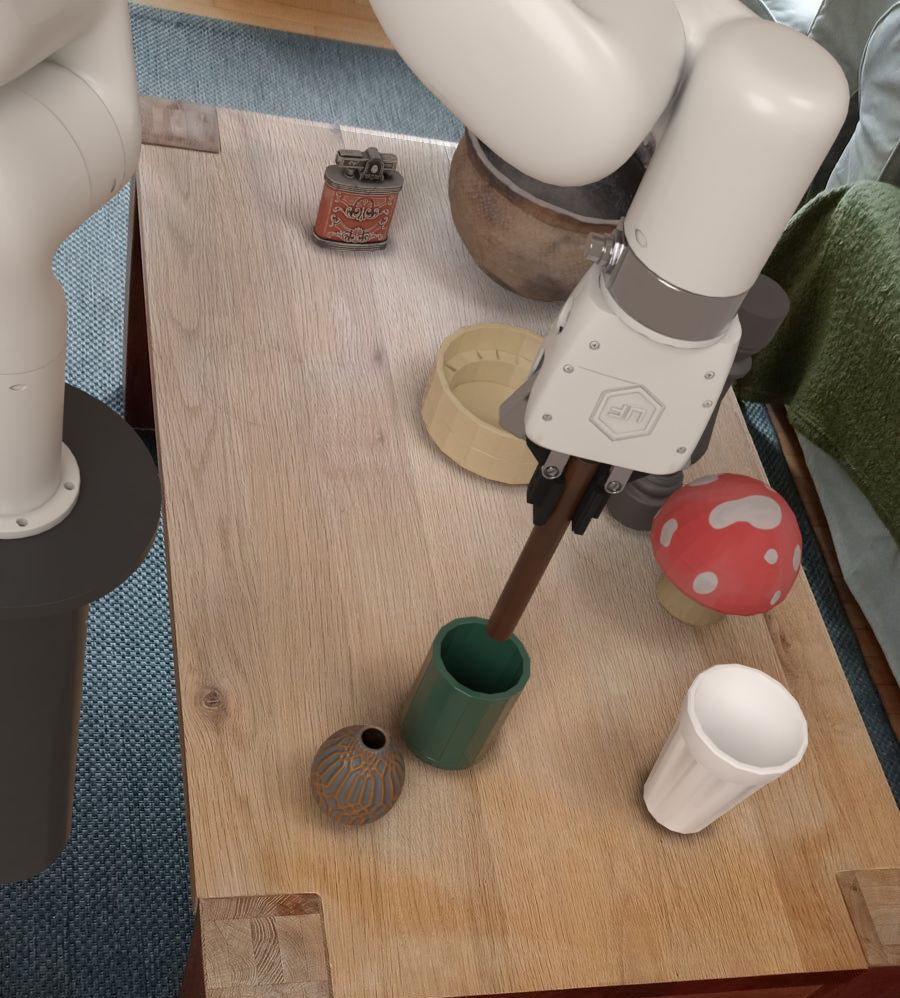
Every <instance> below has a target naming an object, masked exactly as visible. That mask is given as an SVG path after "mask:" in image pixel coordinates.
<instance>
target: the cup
mask: <svg viewBox="0 0 900 998" xmlns="http://www.w3.org/2000/svg"><path fill="white" fill-rule="evenodd" d="M808 729H809V728H808V722H807V720H806V717H805V715H804V713H803V711H802V708H801V706H800V704H799V702H798V701H797V700H796V698H795V697H794V696H793V695H792V694H791V693H790V692H789V690H788V689H787V688H786V687H785V686H784V685H783V684H782V683H781V682H779V681H778V680H776V679H775V678H773V677H771V676H770V675H769V674H767V673H765V672H763V670H760V669H757V668H754V667H750V666H748V665H743V664H741V663H724V664H713V665H711V666H710V667H708V668H706V669H705V670H703V671H701V672H699V673H697V674H696V676H695V678H694V679H693V682H692V683H691V685H690V687H689V688H688V690H687V692H686V693H685V696H684V698H683V700H682V701H681V703H680V710H679V714H678V716H677V718H676V721H675V722H674V724H673V726H672V728H671V730H670V732H669V734H668V736H667V738H666V740H665V742H664V745H663V746H662V748H661V751H660V752H659V755H658V756H657V758H656V760H655V763H654V765H653V767H652V769H651V771H650V773H649V775H648V777H647V779H646V781H645V783H644V784H643V797H642V798H643V800H644V803H645V805H646V808H647V811H648V812H649V814H650V815H651V817H653V818H654V819H655V821H656V822H657V823H658V824H660V825H662V826H663V827H665V828H666V829H668V830H669V831H672V832H675V833H679V834H683V835H686V834H687V835H688V834H696V833H699V832H700V831H702V830H705V828H707V827H708V826H710V825H711V824H713V823H714V822H715V821H716V820H718V819H720V818H721V817H723V816H724V815H725V814H727V813H728V812H729V811H732V809H733V808H735V807H737V806H738V805H739V804H741V803H743V802H744V801H745V800H746V799H748V798H750V797H751V796H752V795H754V794H755V793H756V792H758V791H759V790H761V789H762V788H763V787H765V786H766V785H768V784H769V783H772V782H774V781H776V780H777V779H778V778H780V777H782V776H783V775H785V774H786V773H788V772H789V771H791V770H792V769H793V768H794V767H796V766H797V765H798V764H799V763H800V762H801V761H802V758H803V756H804V754H805V752H806V750H807V748H808V746H809V730H808Z"/></svg>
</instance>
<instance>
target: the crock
mask: <svg viewBox="0 0 900 998" xmlns="http://www.w3.org/2000/svg"><path fill="white" fill-rule="evenodd" d="M488 620H489V618H484V617H480V616H475V615H474V616H473V615H472V616H464V617H456V618H454V619H452V620H451V621H449V622H448V623H447V622H446V623H445V624H444V625H442V626H441V627H440V628H439V630H438V631H437V633H436V635H435V637H434V638H433V640H432V643H431V645H430V646H429V649H428V652H427V653H426V655H425V658H424V661H423V662H422V665H421V667H420V670H419V671H418V673H417V676H416V678H415V681H414V683H413V685H412V687H411V689H410V692H409V693H408V696H407V698H406V701H405V703H404V706H403V708H402V711H401V714H400V720H399V724H400V725H399V728H400V732H401V735H402V738H403V740H404V742H405V744H406V746H407V747H408V748H409V750H410V751H411V752H412V753H413V754H414V755H415V756H416V757H417V758H418V759H420V760H421V761H422V762H424V763H426V764H428V765H429V766H432V767H434V768H437V769H440V770H448V771H461V770H465V769H469V768H471V767H473V766H475V765H477V764H478V763H480V762H481V761H482V760H483V759H484V758H485V756H486V755H487V754H488V752H489V751H490V748H492V747H491V746H492V745H493V744H494V742H495V740H496V738H497V736H498V735H499V733H500V731H501V729H502V728H503V725H504V724H505V723H506V721H507V719H508V717H509V715H510V713H511V712H512V710H513V708H514V707H515V705H516V703H517V701H518V699H519V698H520V696H521V695H522V692H523V691H524V689H525V687H526V685H527V683H528V682H529V679H530V677H531V676H532V675H531V657H530V655H529V653H528V651H527V649H526V646H525V645H524V643H523V641H521V640H520V639H519V638H518V636H516V634H515V633H513V634H512V636H511V637H510V639H508V640H507V641H503V642H500V641H496V640H494V639H492V638H491V637H490V636H489V635H488V634H487V632H486V628H485V627H486V624H487V622H488Z"/></svg>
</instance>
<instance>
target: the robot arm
mask: <svg viewBox="0 0 900 998" xmlns="http://www.w3.org/2000/svg"><path fill="white" fill-rule="evenodd" d="M368 3H369V4H370V7H371V9H372V11H373V13H374V15H375V17H376V19H377V20H378V22H379V24H380V26H381V28H382V30H383V32H384V34H385V36H386V37H387V38H388V40H389V42H390V44H391V45H392V46H393V48H394V50H395V51H396V53H397V54H398V55H399V56H400V58H401V59H402V60H403V62H404V63H405V65H406V66H407V67H408V68H409V69H410V71H411V72H412V73H413V74H414V75H415V76H416V77H417V79H419V81H420V82H421V83H422V84H423V85H424V86H425V88H427V89H428V90H429V91H430V92H431V94H433V96H434V97H435V98H437V100H439V102H441V103H442V104H443V105H444V106H445V108H447V109H448V111H450V112H451V113H452V114H453V115H454V116H455V117H456V118H457V119H458V120H459V121H460V122H461V123H462V124H463V125H464V127H465V126H466V127H467V128H468V129H469V130H470V131H471V132H472V133H473V134H474V135H476V136H477V137H478V138H479V139H480V140H481V141H482V142H483V143H484V144H485V145H487V146H488V147H489V148H490V149H491V150H492V151H493V152H495V153H496V154H497V155H498V156H499V157H501V158H502V159H503V160H504V161H506V162H507V163H509V164H510V165H512V166H513V167H515V168H516V169H518V170H519V171H521V172H523V173H524V174H526V175H528V176H530V177H532V178H535V179H537V180H539V181H541V182H544V183H548V184H552V185H557V186H561V187H569V186H583V185H587V184H590V183H594V182H597V181H599V180H601V179H603V178H605V177H606V176H608V175H610V174H612V173H613V172H615V171H616V170H617V169H618V168H620V167H621V166H622V165H623V164H624V163H625V162H626V161H627V160H628V159H629V158H630V157H631V156H632V154H633V153H634V152H635V150H636V149H637V148H638V146H639V145H640V144H641V142H642V141H643V140H645V139H646V137H647V136H648V135H649V133H650V134H651V136H654V138H655V142H656V147H655V151H654V154H653V156H652V158H651V161H650V163H649V165H648V167H647V170H646V172H645V174H644V176H643V179H642V181H641V183H640V185H639V188H638V190H637V192H636V194H635V197H634V199H633V201H632V203H631V206H630V208H629V210H628V212H627V215H626V217H623V216H622V217H621V219H620V221H619V223H618V226H617V228H616V229H614V230H613V231H612V233H611V234H608V233H604V234H603V235H602V234H598V233H595V232H590V233H589V235H588V237H587V239H586V242H585V246H584V251H583V257H584V258H585V259H588V260H592V261H596V262H595V263H594V264H593V265H592V266H591V267H590V269H589V270H588V271H587V272H586V274H585V275H584V276H583V278H582V279H581V280H580V282H579V283H578V284H577V286H576V287H575V289H574V290H573V291H572V293H571V295H570V296H569V298H568V299H567V301H564V303H563V305H562V307H561V309H560V310H559V312H558V314H557V315H556V317H555V319H554V320H553V323H552V324H551V326H550V327H549V329H548V332H547V334H546V335H545V337H544V338H545V339H544V341H543V343H542V345H541V347H540V349H539V351H538V353H537V355H536V357H535V359H534V361H533V363H532V366H531V368H530V371H529V373H528V376H527V380H526V382H525V383H524V384H523V385H521V386H520V387H519V388H518V389H517V390H516V391H515V392H514V393H513V394H512V395H511V396H509V397H508V398H507V399H506V400H505V401H504V402H503V403H502V404H501V405H500V406H499V425H500V426H501V427H502V428H503V429H505V430H506V431H508V432H509V433H511V434H513V435H514V436H516V437H517V438H519V439H523V440H524V441H526V444H527V446H528V448H529V449H530V451H531V452H532V454H533V455H534V457H535V458H536V460H537V461H538V465H537V467H536V469H535V472H534V474H533V476H532V478H531V480H530V482H529V484H527V490H526V504H529V505H532V525H533V526H534V525H537V526H542V525H545V524H546V522H547V520H548V518H549V516H550V514H551V512H552V510H553V508H554V506H555V504H556V502H557V500H558V498H559V496H560V494H561V492H562V490H563V487H564V471H565V465H566V463H567V461H568V459H569V457H570V455H573V456H577V457H581V458H585V459H589V460H594V461H598V462H601V464H600V466H599V468H598V470H597V472H596V474H595V476H594V478H593V480H592V481H591V483H590V485H589V487H588V489H587V491H586V493H585V495H584V497H583V499H582V501H581V503H580V505H579V507H578V508H577V510H576V512H575V514H574V516H573V518H572V520H571V522H570V524H571V532H573V534H574V535H578V536H584V534H585V532H586V530H587V529H588V527H589V526H590V523H591V521H592V519H596V520H597V519H599V517H600V516H601V514H602V513H603V511H604V509H605V507H606V506H607V505H606V503H607V501H608V499H609V498H610V496H611V494H616V493H619V492H621V491H622V490H623V488H624V487H625V485H626V483H629V482H632V481H634V480H637V479H640V478H643V477H645V476H648V475H651V474H657V475H665V474H672V473H675V472H677V471H682V472H683V471H686V470H688V469H689V468H690V467H691V466H692V465H691V455H692V453H693V451H694V449H695V447H696V446H697V444H698V442H699V440H700V438H701V436H702V434H703V432H704V430H705V428H706V426H707V423H708V421H709V419H710V417H711V415H712V413H713V410H714V408H715V406H716V404H717V401H718V399H719V397H720V394H721V392H722V389H723V387H724V384H725V382H726V379H727V377H728V374H729V372H730V369H731V366H732V364H733V361H734V358H735V355H736V352H737V349H738V345H739V342H740V338H741V334H742V329H741V325H740V322H739V318H738V314H737V313H738V311H739V310H740V308H741V306H742V304H743V302H744V301H745V299H746V297H747V295H748V294H749V292H750V290H751V288H752V287H753V284H754V283H755V281H756V279H757V277H758V276H759V274H760V273H761V272H762V270H763V269H764V267H765V265H766V264H767V261H768V260H769V258H770V256H771V255H772V253H773V251H774V249H775V248H776V245H777V244H778V242H779V240H780V238H781V236H782V235H783V233H784V232H785V230H786V227H787V226H788V224H789V222H790V220H791V219H792V217H793V216H794V213H795V212H796V210H797V208H798V206H799V205H800V203H801V201H802V199H803V197H804V196H805V194H806V192H807V191H808V189H809V187H810V185H811V184H812V182H813V180H814V179H815V177H816V175H817V174H818V172H819V170H820V167H821V166H822V165H823V162H824V161H825V159H826V157H827V156H828V154H829V152H830V150H831V148H832V146H833V145H834V143H835V141H836V140H837V137H838V136H839V134H840V132H841V129H842V128H843V126H844V124H845V122H846V119H847V116H848V113H849V106H850V99H851V96H850V95H851V94H850V86H849V82H848V79H847V77H846V75H845V72H844V71H843V68H842V66H841V65H840V64H839V62H838V61H837V59H835V57H834V56H833V55H832V54H831V53H830V52H829V51H828V50H827V49H826V48H825V47H823V46H822V45H821V44H819V43H818V42H817V41H815V40H814V39H813V38H811V37H809V36H807V34H805V33H803V32H801V31H799V30H797V29H795V28H793V27H790V26H788V25H786V24H783V23H780V22H776V21H774V20H769V19H764V18H762V17H761V16H760V15H758V14H757V13H755V12H754V10H752V9H751V8H749V7H748V6H747V5H745V4H744V3H743V2H742V1H741V0H368ZM135 58H136V57H135V50H134V43H133V33H132V26H131V15H130V6H129V0H0V539H16V538H24V537H29V536H33V535H37V534H40V533H42V532H44V531H47V530H49V529H51V528H53V527H54V526H56V525H57V524H59V523H60V522H62V521H63V520H64V519H65V518H66V517H67V516H68V515H69V514H70V512H71V511H72V509H73V508H74V506H75V504H76V502H77V499H78V496H79V491H80V471H79V467H78V464H77V462H76V459H75V457H74V456H73V454H72V452H71V451H70V449H69V448H68V447H67V446H66V445H65V444H64V443H63V442H62V432H63V410H64V388H65V382H66V368H67V367H66V364H67V363H66V362H67V345H68V344H67V343H68V303H67V298H66V294H65V290H64V288H63V286H62V283H61V282H60V281H59V279H58V277H57V276H56V275H55V273H54V271H53V261H54V257H55V255H56V253H57V251H58V250H59V248H60V246H61V245H62V244H63V243H64V242H65V241H66V239H68V238H69V237H70V236H71V235H72V234H73V233H74V232H76V231H77V230H78V229H79V228H80V227H81V226H82V225H83V224H84V223H85V222H86V221H87V220H88V219H89V218H91V217H92V216H93V215H94V214H95V213H97V212H98V211H99V210H100V209H101V208H102V207H104V206H105V205H106V204H107V203H108V202H110V201H111V200H112V199H113V198H114V197H115V196H116V195H117V194H118V193H120V191H122V190H123V188H124V187H125V186H126V185H127V184H128V183H129V181H130V180H132V177H133V175H134V174H135V172H136V170H137V168H138V165H139V162H140V159H141V158H140V157H141V151H142V143H143V139H142V138H143V135H142V134H143V127H142V126H143V125H142V113H141V105H140V104H141V103H140V95H139V85H138V76H137V69H136V67H137V66H136V60H135ZM545 415H546V416H545ZM690 465H691V466H690Z"/></svg>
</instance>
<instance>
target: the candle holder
mask: <svg viewBox="0 0 900 998" xmlns="http://www.w3.org/2000/svg"><path fill="white" fill-rule="evenodd" d="M790 307H791V300H790V298H789V296H788V294H787V292H786V291H785V290H784V289H783V287H782V286H781V285H780V284H779V283H778V282H776V281H775V280H773V279H772V278H771V277H769V276H768V275H765V274H763V273H761V272H760V274H759V276H758V277H757V279H756V281H755V283H754V284H753V287H752V288H751V290H750V292H749V294H748V295H747V297H746V299H745V301H744V302H743V304H742V306H741V308H740V310H739V311H738V313H737V314H738V318H739V322H740V325H741V329H742V334H741V338H740V342H739V345H738V349H737V352H736V355H735V358H734V361H733V364H732V366H731V369H730V372H729V374H728V377H727V379H726V382H725V384H724V387H723V389H722V392H721V394H720V397H719V399H718V401H717V404H716V406H715V408H714V410H713V413H712V415H711V417H710V419H709V421H708V423H707V426H706V428H705V430H704V432H703V434H702V436H701V438H700V440H699V442H698V444H697V446H696V447H695V449H694V451H693V453H692V455H691V465H690V467H691V466H693V465H695V464H696V463H697V462H699V461H700V459H701V458H703V456H704V455H705V454H706V452H707V450H708V449H709V447H710V442H711V439H712V435H713V432H714V428H715V424H716V421H717V418H718V415H719V411H720V409H721V404H722V401H724V398H725V396H726V395H727V393H728V391H729V390H730V388H731V386H732V385H733V383H734V381H735V380H739V379H742V378H744V377H745V376H746V375H747V374H748V373H749V372H750V370H751V369H752V364H753V359H752V356H753V355H755V354H758V353H759V352H760V351H761V350H762V349H763V348H766V347H767V346H768V344H769V343H770V342H772V340H773V338H774V336H775V335H776V333H777V331H778V330H779V328H780V326H781V325H782V323H783V322H784V320H785V318H786V317H787V315H788V314H789V312H790ZM684 478H685V477H684V473H683V471H677V472H675V473H672V474H665V475H657V474H651V475H648V476H645V477H643V478H640V479H637V480H634V481H632V482H629V483H626V485H625V487H624V488H623V490H622V491H621V492H619V493H616V494H611V496H610V498H609V499H608V501H607V503H606V505H605V506H606V508H607V510H608V511H609V513H610V514H611V515H612V517H613V518H614V519H615V520H616V521H617V522H619V523H620V524H622V525H623V526H624V527H626V528H629V529H633V530H634V531H640V532H641V531H643V532H651V529H652V522H653V518H654V517H655V515H656V514H657V512H658V511H659V509H660V508H661V507H662V505H663V504H664V502H665V501H666V500H667V498H668V497H669V496H670V495H671V494H673V493H674V492H675V491H676V490H678V489H680V488H681V487H683V486H684V485H683V483H684Z"/></svg>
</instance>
